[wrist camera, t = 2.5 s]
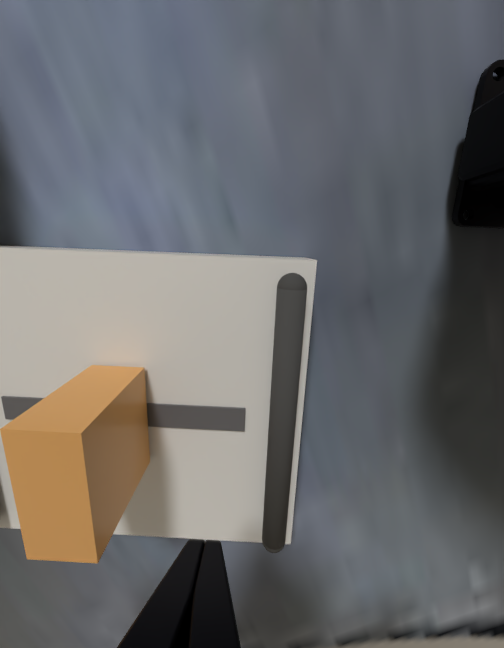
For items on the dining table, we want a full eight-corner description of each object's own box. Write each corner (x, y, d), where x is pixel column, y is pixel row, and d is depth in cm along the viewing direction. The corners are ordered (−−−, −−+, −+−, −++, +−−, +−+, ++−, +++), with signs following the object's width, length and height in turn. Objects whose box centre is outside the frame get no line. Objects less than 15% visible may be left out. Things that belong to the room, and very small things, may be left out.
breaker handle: (144, 367, 13) (81, 433, 8) (150, 461, 14) (97, 563, 10) (91, 364, 13) (-1, 429, 9) (102, 459, 14) (27, 559, 10)
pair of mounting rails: (306, 272, 12) (311, 274, 11) (283, 536, 16) (285, 559, 14) (-79, 256, 12) (-114, 257, 11) (-14, 519, 16) (-36, 541, 15)
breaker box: (305, 257, 15) (317, 260, 12) (285, 498, 19) (290, 546, 16) (-24, 244, 15) (-94, 243, 12) (23, 483, 19) (-21, 528, 16)
